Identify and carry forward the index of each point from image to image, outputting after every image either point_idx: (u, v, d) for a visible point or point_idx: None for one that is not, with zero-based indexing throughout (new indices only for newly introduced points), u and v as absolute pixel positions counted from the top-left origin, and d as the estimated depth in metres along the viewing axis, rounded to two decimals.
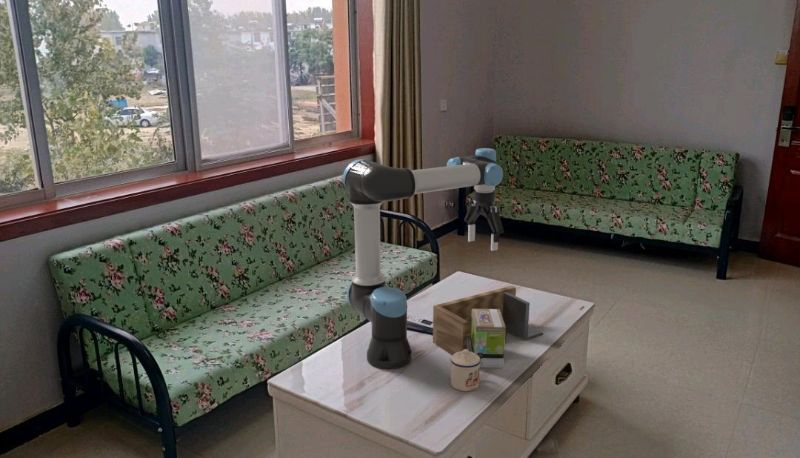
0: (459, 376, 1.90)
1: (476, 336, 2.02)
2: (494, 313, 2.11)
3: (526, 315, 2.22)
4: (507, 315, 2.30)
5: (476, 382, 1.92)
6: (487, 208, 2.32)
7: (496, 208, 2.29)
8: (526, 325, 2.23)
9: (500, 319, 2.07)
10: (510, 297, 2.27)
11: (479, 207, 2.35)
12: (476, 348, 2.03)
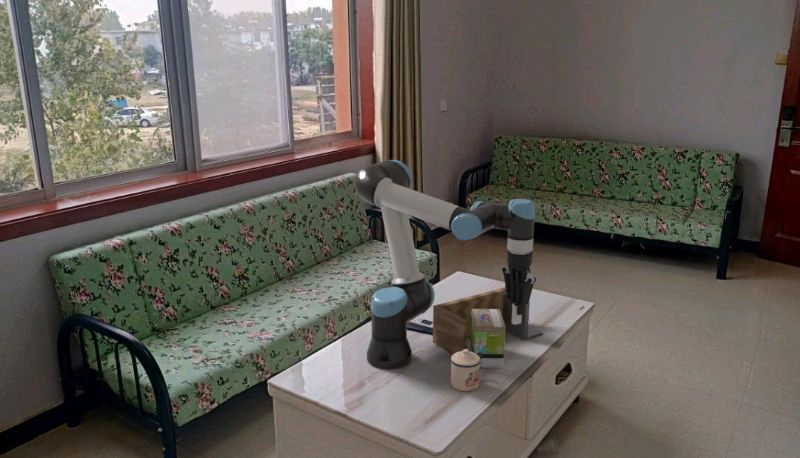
0: (459, 376, 1.90)
1: (476, 336, 2.02)
2: (494, 313, 2.11)
3: (526, 315, 2.22)
4: (507, 315, 2.30)
5: (476, 382, 1.92)
6: (523, 273, 1.88)
7: (533, 281, 1.87)
8: (526, 325, 2.23)
9: (500, 319, 2.07)
10: None
11: (513, 269, 1.91)
12: (476, 348, 2.03)
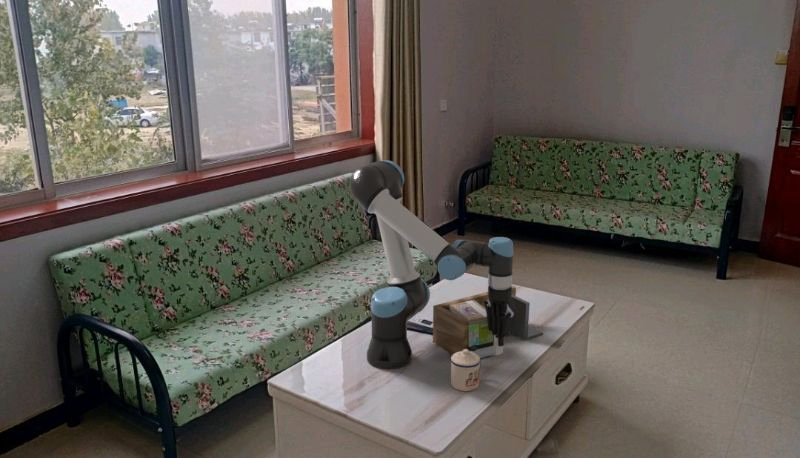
0: (459, 376, 1.90)
1: (469, 330, 2.07)
2: (474, 305, 2.17)
3: (526, 315, 2.22)
4: None
5: (476, 382, 1.92)
6: (503, 307, 1.99)
7: (512, 315, 1.98)
8: (526, 325, 2.23)
9: (484, 309, 2.13)
10: None
11: (494, 303, 2.02)
12: (470, 341, 2.08)
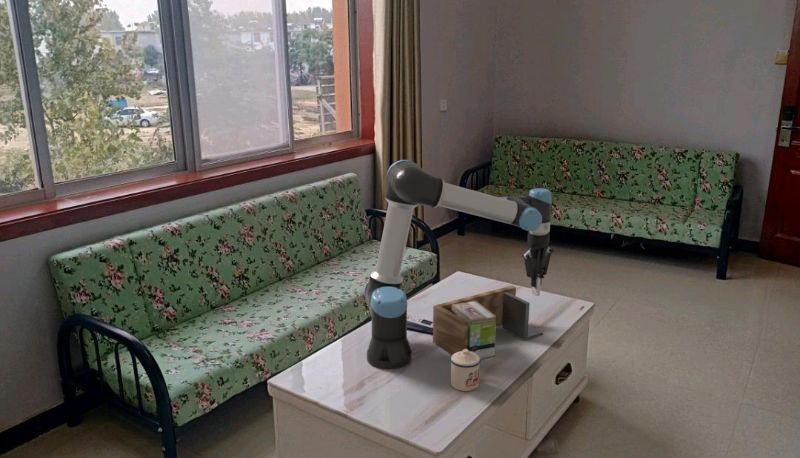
0: (459, 376, 1.90)
1: (471, 330, 2.07)
2: (476, 306, 2.17)
3: (526, 315, 2.22)
4: (507, 315, 2.30)
5: (476, 382, 1.92)
6: None
7: (524, 256, 2.23)
8: (526, 325, 2.23)
9: (486, 310, 2.14)
10: (510, 297, 2.27)
11: None
12: (471, 341, 2.08)
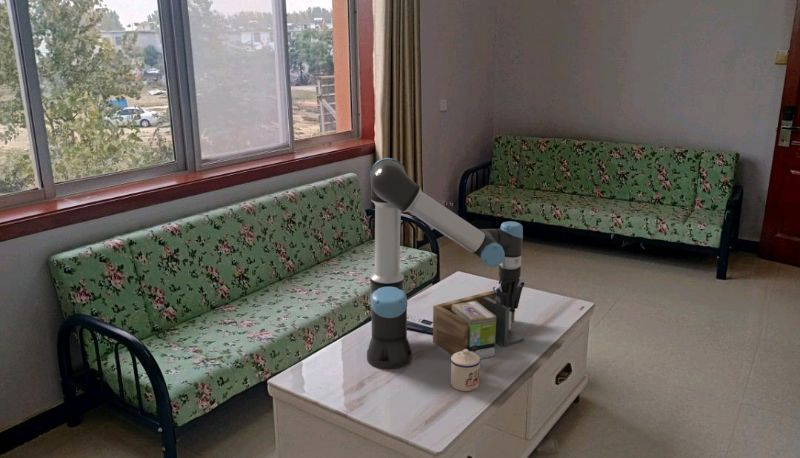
0: (459, 376, 1.90)
1: (471, 330, 2.07)
2: (476, 306, 2.17)
3: (506, 321, 2.17)
4: None
5: (476, 382, 1.92)
6: None
7: (495, 290, 2.19)
8: (506, 331, 2.18)
9: (486, 310, 2.14)
10: (490, 302, 2.22)
11: None
12: (471, 341, 2.08)
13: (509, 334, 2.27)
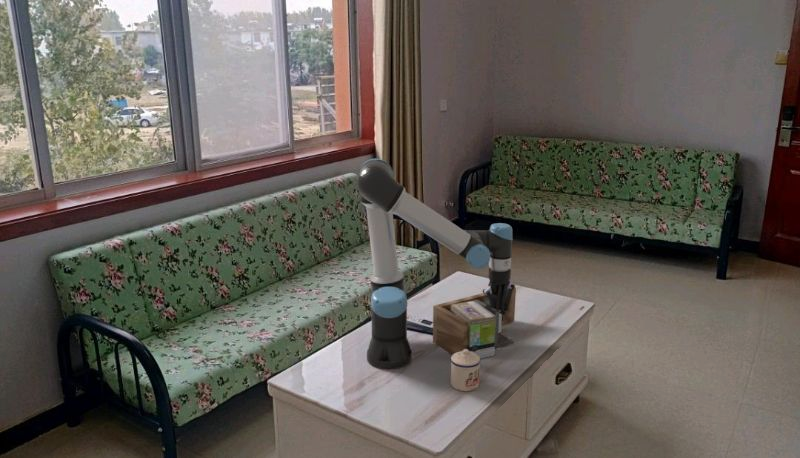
0: (459, 376, 1.90)
1: (471, 330, 2.07)
2: (475, 305, 2.17)
3: (496, 324, 2.15)
4: None
5: (476, 382, 1.92)
6: None
7: (485, 293, 2.17)
8: (496, 334, 2.16)
9: (485, 309, 2.14)
10: None
11: None
12: (471, 341, 2.08)
13: (499, 337, 2.25)
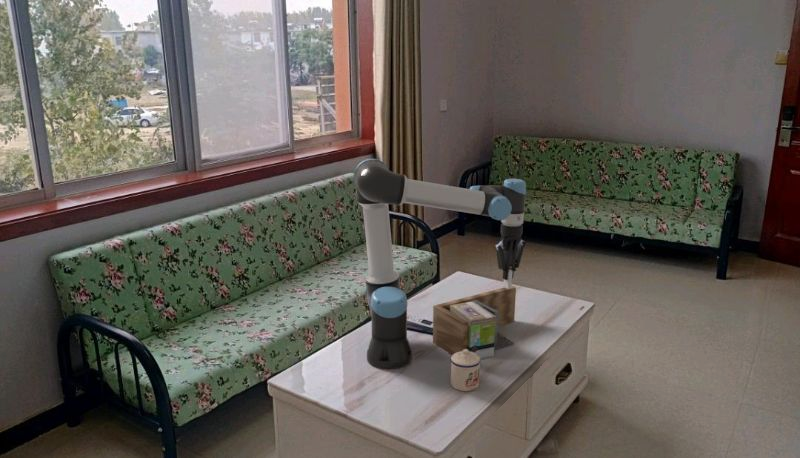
0: (459, 376, 1.90)
1: (471, 330, 2.07)
2: (474, 306, 2.17)
3: (495, 324, 2.14)
4: None
5: (476, 382, 1.92)
6: None
7: (496, 247, 2.18)
8: (495, 334, 2.16)
9: (485, 310, 2.14)
10: None
11: None
12: (471, 342, 2.08)
13: (498, 337, 2.24)
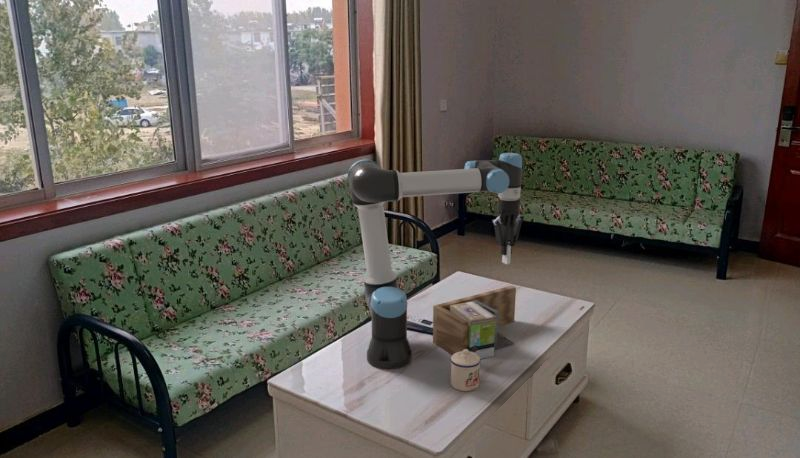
0: (459, 376, 1.90)
1: (471, 330, 2.07)
2: (474, 306, 2.17)
3: (495, 324, 2.14)
4: None
5: (476, 382, 1.92)
6: None
7: (494, 222, 2.17)
8: (495, 334, 2.16)
9: (485, 310, 2.14)
10: None
11: None
12: (471, 342, 2.08)
13: (498, 337, 2.24)
